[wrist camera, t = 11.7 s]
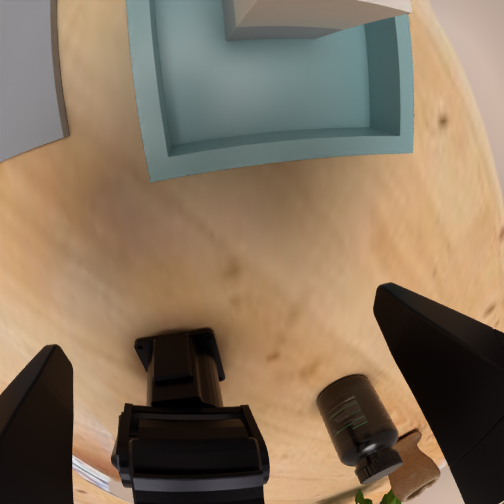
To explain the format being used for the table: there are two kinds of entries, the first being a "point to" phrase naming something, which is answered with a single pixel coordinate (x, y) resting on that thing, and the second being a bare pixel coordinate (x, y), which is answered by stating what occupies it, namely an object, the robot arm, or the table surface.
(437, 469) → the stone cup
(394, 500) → the indoor plant
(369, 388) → the supplement bottle
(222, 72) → the bin
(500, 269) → the table surface
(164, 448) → the robot arm
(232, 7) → the beige rectangular block
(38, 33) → the stud base
